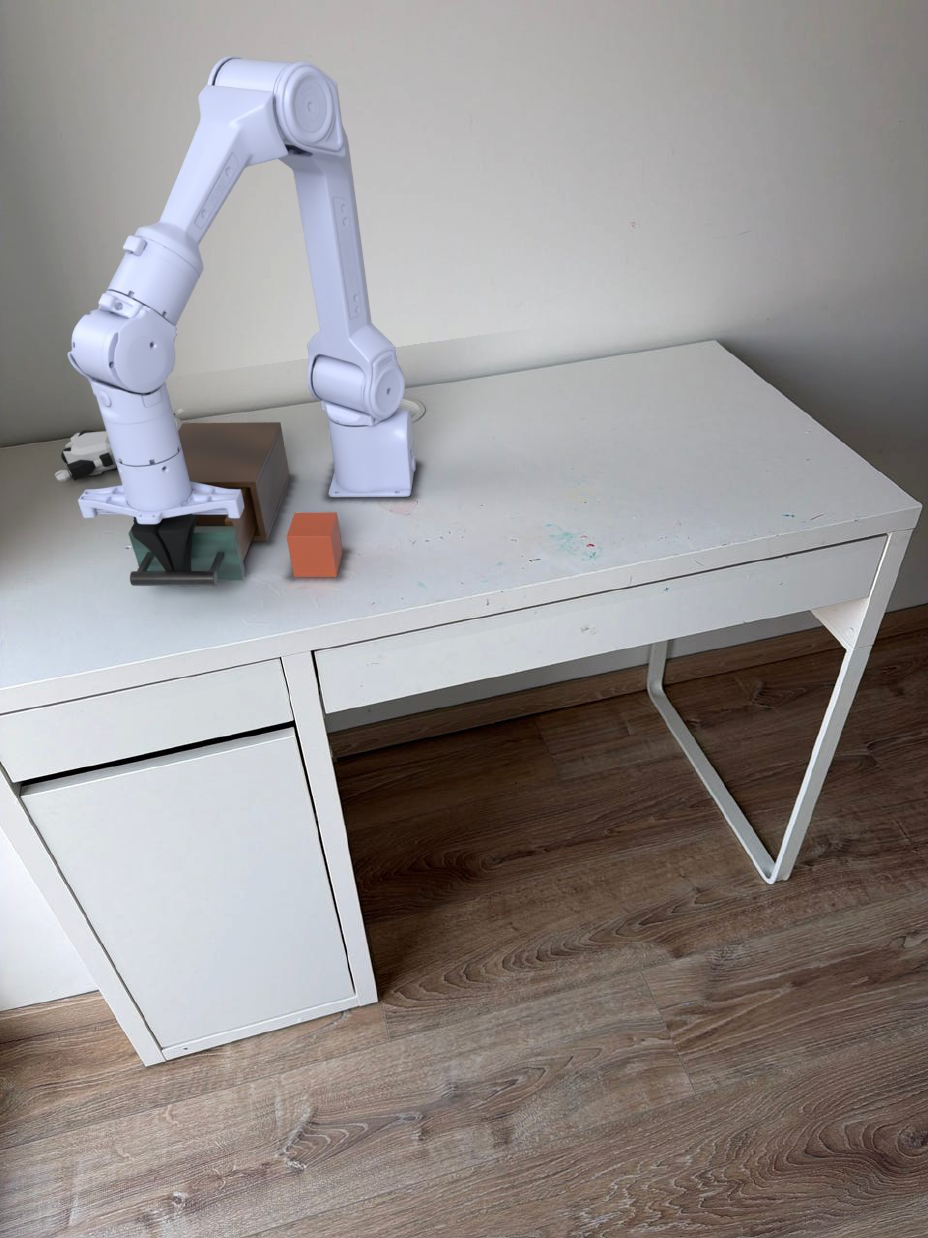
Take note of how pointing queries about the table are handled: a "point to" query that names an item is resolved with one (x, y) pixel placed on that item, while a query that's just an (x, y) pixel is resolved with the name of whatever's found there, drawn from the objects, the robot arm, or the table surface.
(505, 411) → the table surface
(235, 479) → the cabinet
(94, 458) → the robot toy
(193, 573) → the drawer
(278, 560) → the table surface
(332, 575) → the block
